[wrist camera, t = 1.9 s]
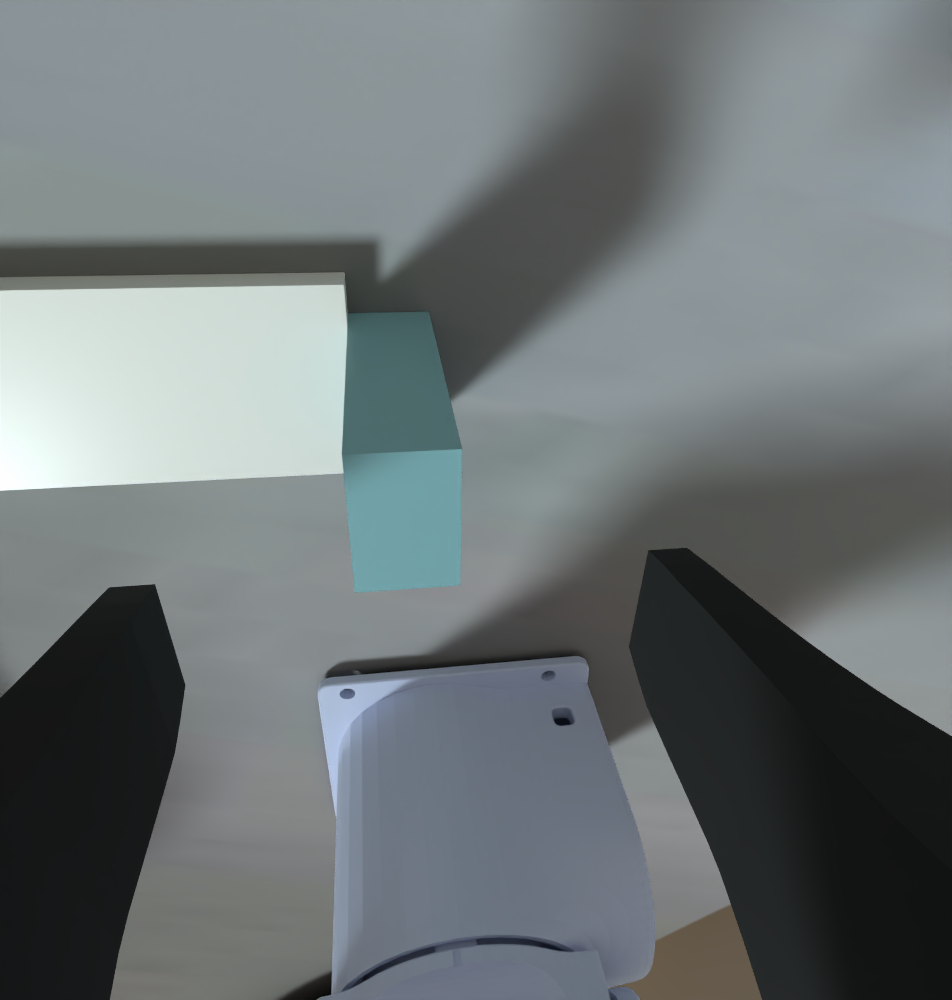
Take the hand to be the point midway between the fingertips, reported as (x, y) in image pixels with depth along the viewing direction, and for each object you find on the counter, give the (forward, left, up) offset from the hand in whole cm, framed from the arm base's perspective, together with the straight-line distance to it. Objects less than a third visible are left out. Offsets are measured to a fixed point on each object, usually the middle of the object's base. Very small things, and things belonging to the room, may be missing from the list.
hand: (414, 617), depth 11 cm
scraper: (+6, 0, -9) cm, 11 cm away
